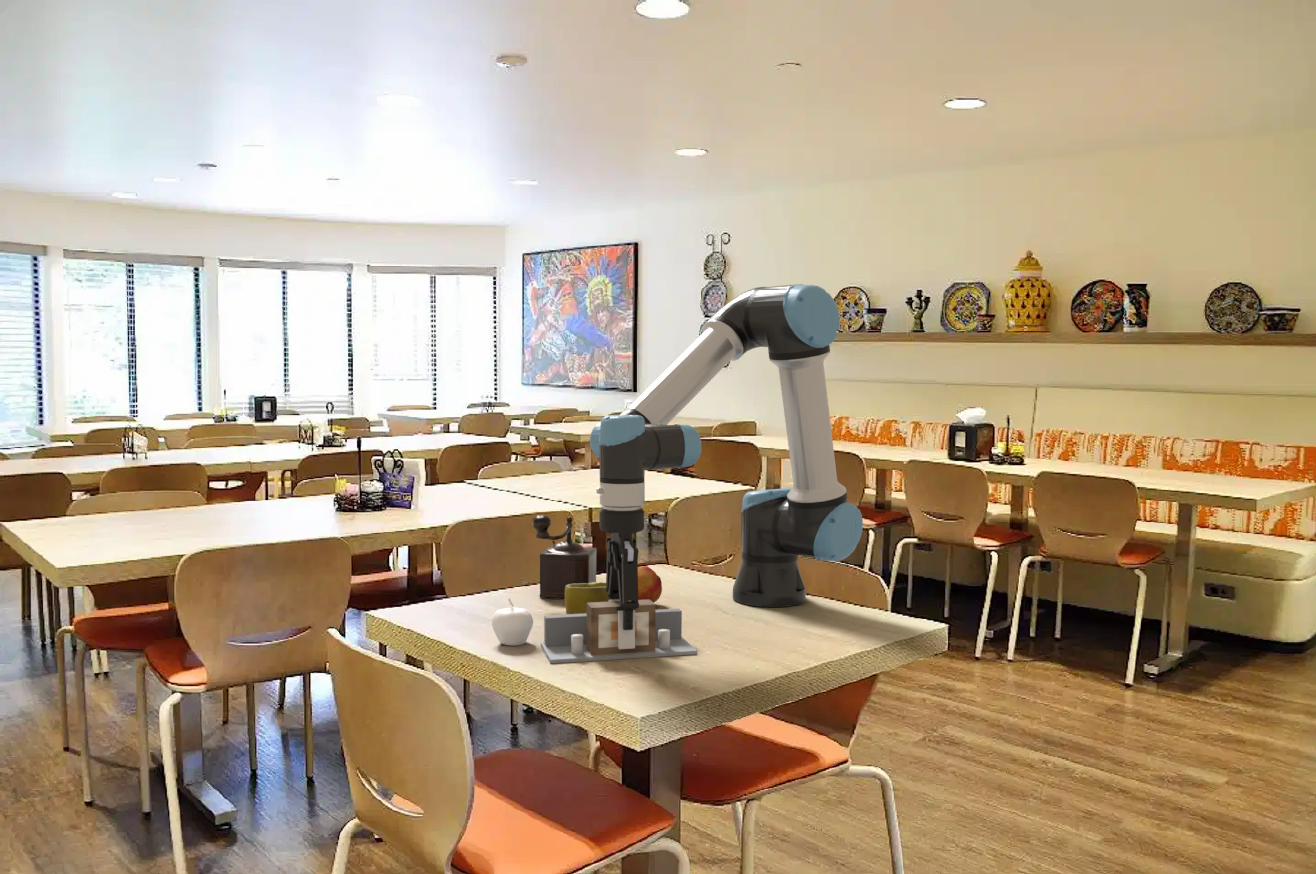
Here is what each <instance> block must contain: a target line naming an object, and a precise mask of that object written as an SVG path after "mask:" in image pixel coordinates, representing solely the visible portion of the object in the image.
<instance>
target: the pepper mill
mask: <svg viewBox="0 0 1316 874" xmlns="http://www.w3.org/2000/svg"><path fill="white" fill-rule="evenodd" d="M573 520H574V519H573V517H571V516H567V517H566V524H565V530H564V531H563V532H562V533H560V534H558V535H550V532H549V527H550V526H551V524H552V520H551V518H550V516H547V515H545V514H538V515H536V516H535V517H533V518H532V521H531V523H532V526H533V528H534V529H535V531H536V534H535V536H536V539H542V540H551V541H552V545H550V546H548V547H546V548H545V550H544V551H543V552H541V553H540V554H539V598H540V599H541V598H542V599H549V600H564V601H565V587H566V585H568V584H581V583H587V584H588V583H593V582H597V550H598V549H597V547H589V546H587V547H584V546H583V545H582V544H580V543H578V542H576V541H573V539H572V528H573ZM565 537H566V539H565V540H562V541H560V542H559V541H558V540H561V539H563V538H565ZM555 541H558V542H555Z"/></svg>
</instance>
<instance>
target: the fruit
mask: <svg viewBox="0 0 1316 874" xmlns="http://www.w3.org/2000/svg"><path fill="white" fill-rule="evenodd" d="M662 593H663V583H662V579H661V577H660V576H659V574H657V573H656V572H655V571H654V570H653V569H652V568H651V567H649V566H647V565H646V566H644V565H642V566H638V600H647V599H650V600H651V601H652V602H653V603H654V604H655V602H657V601H658V600H659V599H660V597H661V595H662Z"/></svg>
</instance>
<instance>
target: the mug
mask: <svg viewBox="0 0 1316 874" xmlns="http://www.w3.org/2000/svg"><path fill="white" fill-rule="evenodd" d="M609 600H611V599H609V598H608V593H607V592H606V582H603V581H602V582H598V581H596V582H593V583H588V584H587V583H581V584H568V585H566V587H565V600H564V603H565V613H566V614H583V613H587V603H591V602H609Z"/></svg>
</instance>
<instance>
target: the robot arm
mask: <svg viewBox="0 0 1316 874" xmlns="http://www.w3.org/2000/svg"><path fill="white" fill-rule="evenodd" d="M840 322H841V321H840V311H839V309H838V306H837V303H836V301H835V299H834V298H833V296H832V295H831V294H830V293H828V292H827V291H826V289H825V288H823V287H820V286H818V285H814V284H803V283H800V284H786V285H775V286H759V287H754V288H752V289H748V290H747V291H743V292H742V293H740V294H739V295H737V296H735V297H734V298H733V299H731V300H730V301H728V302H727V303H726V304H725V305H723V306H722V307H720V309H719V310H718V311H716V312H715V313H714V314H713V315H712V316H711V317H709V319H708V320H707V321H706V322H705V323H704V324H703V326H702V333H701V334H700V335H699V336H698V337H697V338H696V339H695V340H694V341H693V342H692V343H691V344H690V345H689V346H688V347H687V348H686V349H685V350H684V351H683V352H682V353H681V354H680V355H679V356H678V357H677V358H676V359H675V360H674V361H672V362H671V364H670V365H669V366H668V367H667V368H666V369H665V370H664V371H663V372H662V373H661V374H660V375H659V376H658V377H657V378H656V379H655V380H653V382H652V383H651V384H650V385H649V386H647V388H646V389H645V390H644V391H643V392H642V393H641V394H640V395H639V396H638V397H636V398H635V400H633V402H631V403H630V404H629V405H628V407H627V408H625V409H624V411H623V412H621V413H620V414H610V415H605V416H603V417H602V418H601V420H600V422H598V423H596V424H595V425H594V427H593V428H592V430H591V433H590V435H589V444H590V449H591V451H592V453H593V454H594V455H595V456H596V457H597V458H598V459H599V460H598V461H599V486H600V487H597V488H596V489H595V490H596V494H598V495H599V505H601V506H602V507H601V508H600V509H599V511H598V512H599V515H598V517H599V519H598V520H599V530H600V531H601V532H604V533H608V534H609V533H610V536H606V538H605V542H606V567H605V568H606V569H605V571H606V573H605V575H606V577H605V583H606V592H607V593H608V598H609V599H611V600H609V601H620V607H616V611H618V649H632V648H635V610H636V608H638V607H639V603H638V567H639V565H638V561H639V560H638V559H639V549H638V547H636V542H634V540H633V534H634V533H640V532H643V530H644V529H645V510H644V509H643V506H645V502H646V501H645V500H646V499H645V498H646V497H645V496H646V494H645V492H646V491H645V488H646V487H645V485H646V482H645V475H646V474H645V473H646V471H649V470H665V469H679V470H680V469H681V468H687V467H688V468H689V467H691V466H694V465H695V464H696V463H697V462H698V460H699V458H700V457H701V454H702V440H701V436H700V433H699V432H698V430H697V429H696V428H694V427H693V426H691V425H689V424H680V423H679V424H678V423H675V424H669V423H670V422H671V421H673V420H674V419H675V417H677V415H678V414H679V413H680V412H681V411H682V410H683V409H684V408H686V406H687V405H689V403H690V402H691V401H692V400H694V398H695V397H696V396H697V395H698V394H699V393H700V392H701V391H702V390H703V389H704V388H705V386H707V385H708V383H709V382H711V380H713V379H714V378H715V376H716V375H718V373H720V372H721V370H723V368H725V366H726V365H728V363H730V362H733V361H738V360H739V359H741V358H742V357H743V355H744V354H745V353H747V352H749V351H751V350H754V349H756V348H762V347H763V348H767V350H768V352H767V353H768V358H769V362H771V363H772V364H774V366H776V367H777V368H778V374H779V380H780V381H779V382H780V390H781V398H782V399H781V400H782V406H783V407H782V408H783V413H784V414H783V415H784V421H785V429H786V437H787V443H788V445H787V446H788V454H789V461H790V469H791V470H790V471H791V476H792V478H791V479H792V485H793V487H789V488H787V487H786V488H784V487H783V488H774V489H773V488H770V489H761V490H753V491H747V492H746V493H745V494H744V495H743V498H742V504H741V505H742V506H741V507H742V508H741V511H740V513H741V561H740V562H741V563H740V565H739V569H738V571H737V575H736V576H735V580H734V582H733V583H734V584H733V586H732V600H734V601H735V602H737V603H740V604H743V605H747V606H755V607H768V608H771V607H772V608H776V607H777V608H778V607H779V608H781V607H782V608H783V607H792V606H797V605H801V604H804V603H805V602H806V601H807V590H806V585H805V583H804V579H803V577H802V574H801V573H802V572H801V570H800V566H799V562H798V561H799V556H801V557H805V558H806V557H807V558H811V559H815V560H819V561H821V562H823V561H824V562H826V561H827V562H828V561H829V562H840V561H843V560H845V559H846V558H847V559H848V557H849V556H850V555H851V554H852V553H853V552H854V551H855V550H856V548H857V545H858V544H859V543H860V540H861V537H862V533H863V525H864V522H863V515H862V513H861V510H860V508H858V507H857V506H856V504H853V503H851V502H848V493H847V488H846V487H845V486H844V485H843V484H842V483H840V482H839V481H838V477H837V469H836V468H837V467H836V459H835V457H836V456H835V449H834V443H833V441H834V440H833V434H832V425H831V416H830V408H829V399H828V392H827V383H826V376H825V375H826V373H825V366H824V362H825V359H826V358H827V357H828V356H829V354H830V353H831V348H830V347H831V346H830V345H831V344H832V343H833V342H834V341H835V340H836V338H837V336H838V333H837V332H838V331H839V330H840V326H841V325H840Z"/></svg>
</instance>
